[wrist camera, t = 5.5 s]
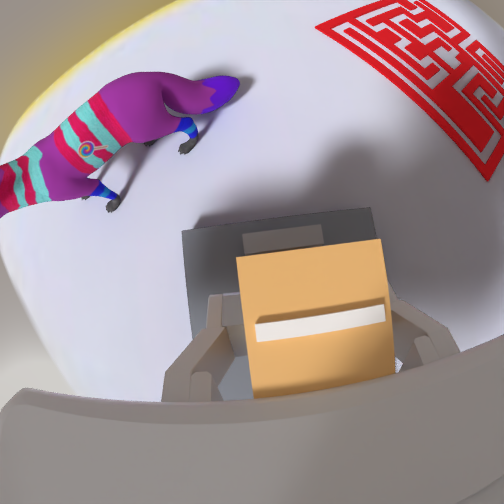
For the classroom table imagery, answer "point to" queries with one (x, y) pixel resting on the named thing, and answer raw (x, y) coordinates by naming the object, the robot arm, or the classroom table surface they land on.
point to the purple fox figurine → (108, 136)
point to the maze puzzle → (432, 72)
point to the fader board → (253, 243)
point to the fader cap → (316, 317)
